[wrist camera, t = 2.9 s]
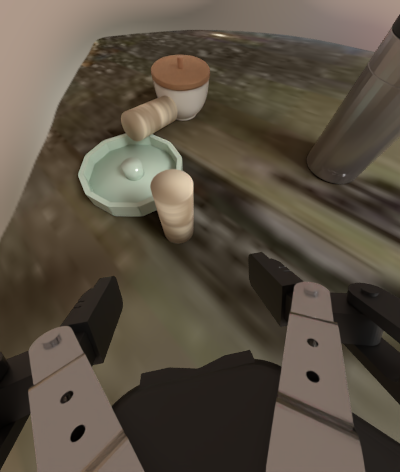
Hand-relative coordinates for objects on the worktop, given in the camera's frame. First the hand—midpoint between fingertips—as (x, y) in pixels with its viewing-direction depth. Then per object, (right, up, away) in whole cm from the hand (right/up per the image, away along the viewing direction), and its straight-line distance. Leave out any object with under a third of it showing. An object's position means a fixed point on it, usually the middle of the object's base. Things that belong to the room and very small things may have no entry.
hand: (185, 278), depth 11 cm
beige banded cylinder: (-10, +20, +19) cm, 29 cm away
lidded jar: (-3, +29, +30) cm, 42 cm away
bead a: (-2, +3, +17) cm, 18 cm away
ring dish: (-10, +13, +21) cm, 27 cm away
